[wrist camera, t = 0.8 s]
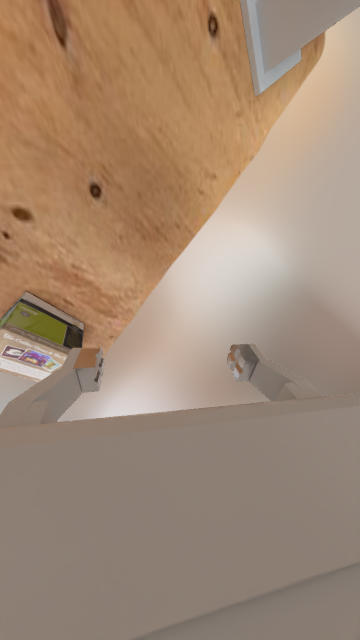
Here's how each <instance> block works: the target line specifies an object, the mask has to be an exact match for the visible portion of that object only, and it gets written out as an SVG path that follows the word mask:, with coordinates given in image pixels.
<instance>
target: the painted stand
mask: <svg viewBox="0 0 360 640" xmlns="http://www.w3.org/2000/svg"><path fill="white" fill-rule="evenodd" d="M240 5H241V11H242V18H243V24H244V30H245V37H246V43H247V49H248V56H249V62H250V68H251V75H252V81H253V87H254V94H255V97H256V96H258V95H259V94H261V93H262V92H263V91H264V90H266V89H267V88H268V87H269V86H270V85H272V84H273V83H274V82H275V81H277V80H278V79H279V78H280V77H281V76H283V75H284V74H285V73H286V72H287V71H289V70H290V69H291V68H292V67H294V66H295V65H296V64H297V63H298V62H300V61H301V48H302V47H303V46H305V45H306V44H308V43H309V42H310V41H312V40H313V39H315V38H316V37H317V36H319V35H320V34H322V33H323V32H324V31H326V30H327V29H329V28H330V27H331V26H333V25H334V24H336V23H337V22H338V21H340V20H341V19H342V18H344V17H345V16H347V15H348V14H349V13H351V12H352V11H354V10H355V9H357V8H358V7H359V6H360V0H240Z"/></svg>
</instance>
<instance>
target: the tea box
mask: <svg viewBox="0 0 360 640" xmlns="http://www.w3.org/2000/svg"><path fill="white" fill-rule="evenodd" d="M83 330H84V324H83V323H82V322H80V321H78V320H76V319H74V318H73V317H71V316H69V315H67V314H66V313H64V312H62V311H60V310H58V309H57V308H55V307H53V306H51V305H50V304H48V303H46V302H44V301H42V300H41V299H39V298H37V297H35V296H34V295H32V294H30V293H28V292H25V293H24V294H23V295H22V296H21V297H20V298H19V299H18V301H17V302H16V303H15V304H14V305H13V306H12V307H11V308H10V309H9V310H8V311H7V313H6V314H5V315H4V316H3V317H2V318H1V319H0V372H4V373H8V374H11V375H15V376H19V377H22V378H26V379H29V380H33V381H37V382H40V381H41V380H43V379H44V378H46V377H47V376H49V375H50V374H52V373H53V372H55V371H56V370H59V369H61V368H62V366H63V364H64V362H65V360H66V358H67V356H68V354H69V352H70V350H71V349H72V348H82V342H83Z"/></svg>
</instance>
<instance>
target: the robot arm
mask: <svg viewBox="0 0 360 640" xmlns="http://www.w3.org/2000/svg"><path fill="white" fill-rule="evenodd" d="M230 350H231V352H230V353H229V354H228V357H227V363H228V366H229V368H230V369H231V370H233V373H232V374H233V376H234V377H235V379H236V381H237V382H239V381H249V382H250V383H251V384H252V385H253V386H254V387H256V388H257V389H258V390H259V391H261V393H263V394H264V395H265V396H266V397H267V398H269V399H270V400H271V401H270V402H260V403H251V404H239V405H229V406H219V407H209V408H198V409H188V410H178V411H168V412H157V413H147V414H137V415H127V416H118V417H117V416H116V417H107V418H96V419H86V420H75V421H65V422H57V420H58V419H59V418H60V416H61V415H62V414H63V413H64V412H65V411H66V410H67V409H68V408H69V407H70V406H71V405H72V404H73V402H75V401H76V399H77V398H78V397H79V396H80V395H81V394H82V393H84V392H95V391H99V388H100V384H101V376H102V375H103V372H104V359H103V358H102V354H103V351H102V348H72V349H71V350H70V352H69V354H68V356H67V358H66V360H65V362H64V364H63V366H62V368H61V369H59V370H56V371H55V372H53V373H52V374H50V375H49V376H47V377H46V378H44V379H43V380H41V381H40V382H38V383H37V384H35V385H34V386H32V387H31V388H30V389H28V390H27V391H25V392H24V393H22V394H21V395H19V396H18V397H16V398H15V399H13V400H12V401H10V402H9V403H8V404H7V406H6V407H5V409H4V410H3V411H2V413H1V414H0V640H360V393H353V394H343V395H332V396H322V397H321V396H320V395H319V394H318V393H317V392H316V390H315V389H314V388H313V387H312V386H311V385H310V384H309V383H308V382H307V381H306V380H304V379H302V378H301V377H299V376H297V375H295V374H293V373H292V372H290V371H288V370H286V369H285V368H283V367H281V366H279V365H277V364H276V363H274V362H272V361H270V360H267V359H266V358H265V357H264V355H263V354H262V353H261V352H260V350H259V349H258V348H257V347H256V345H254V344H240V345H232V346H231V348H230Z"/></svg>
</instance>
